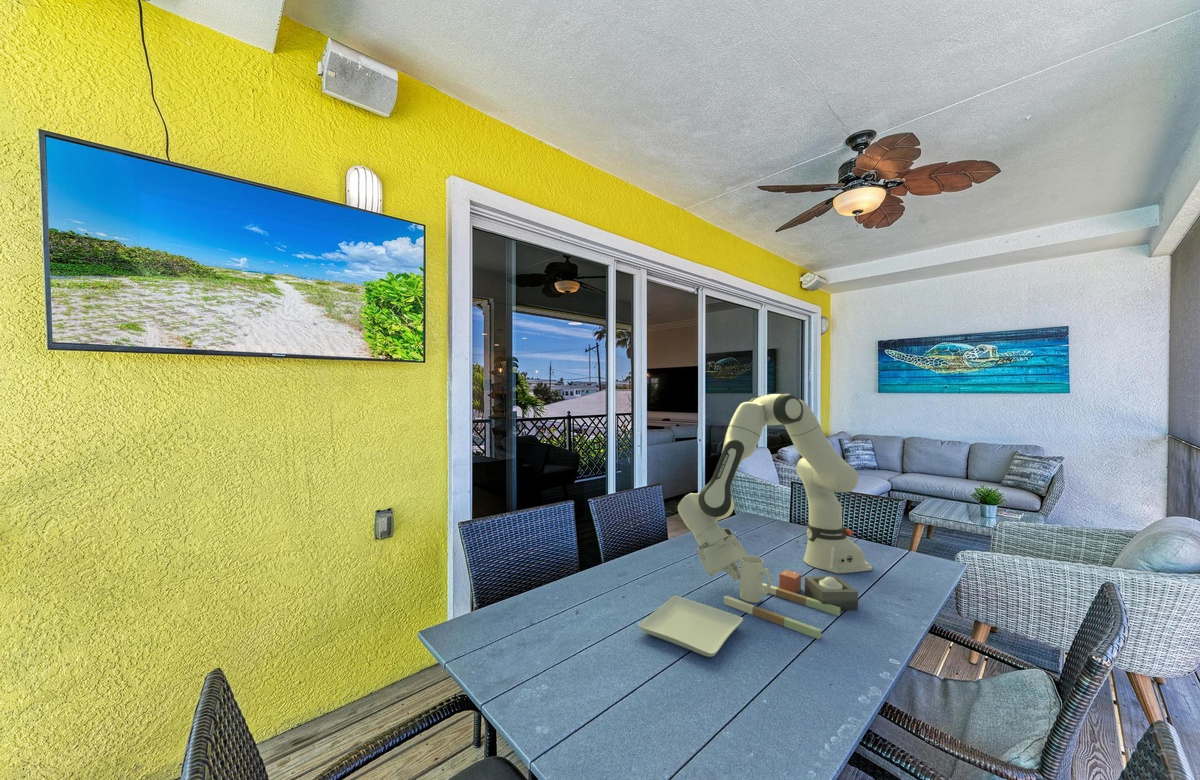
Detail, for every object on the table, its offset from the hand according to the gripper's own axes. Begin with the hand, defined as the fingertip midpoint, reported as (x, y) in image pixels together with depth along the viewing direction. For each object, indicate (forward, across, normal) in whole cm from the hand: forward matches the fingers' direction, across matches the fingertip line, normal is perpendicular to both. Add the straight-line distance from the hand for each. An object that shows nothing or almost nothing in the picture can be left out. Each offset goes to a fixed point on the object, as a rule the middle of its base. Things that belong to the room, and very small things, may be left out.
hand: (739, 578), depth 141 cm
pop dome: (+17, +15, -14) cm, 27 cm away
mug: (+7, 0, 0) cm, 7 cm away
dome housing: (+19, +15, -12) cm, 27 cm away
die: (+10, +15, -4) cm, 19 cm away
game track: (+13, 0, -6) cm, 14 cm away
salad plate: (+5, -29, +3) cm, 29 cm away
